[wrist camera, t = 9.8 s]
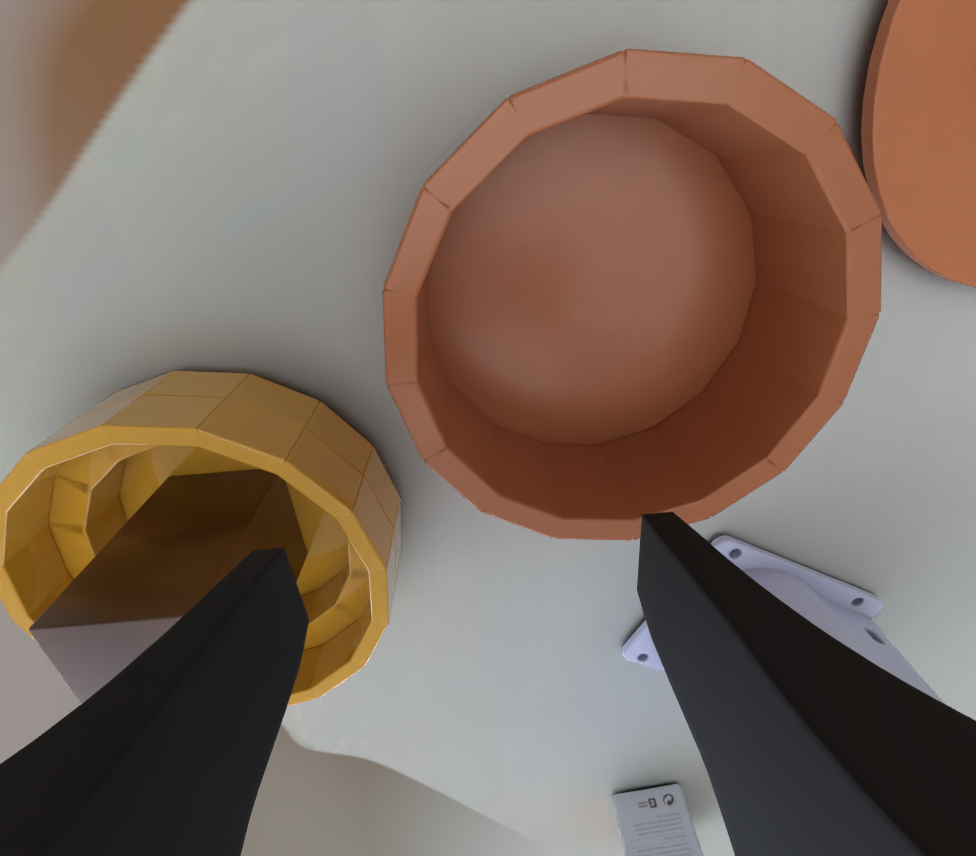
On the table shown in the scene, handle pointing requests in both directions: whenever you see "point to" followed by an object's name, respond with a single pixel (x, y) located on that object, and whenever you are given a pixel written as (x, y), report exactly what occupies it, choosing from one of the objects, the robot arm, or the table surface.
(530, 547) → the table surface
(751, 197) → the pot
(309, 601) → the bowl
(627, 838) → the cosmetic box
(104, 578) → the walnut block
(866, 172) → the lid
